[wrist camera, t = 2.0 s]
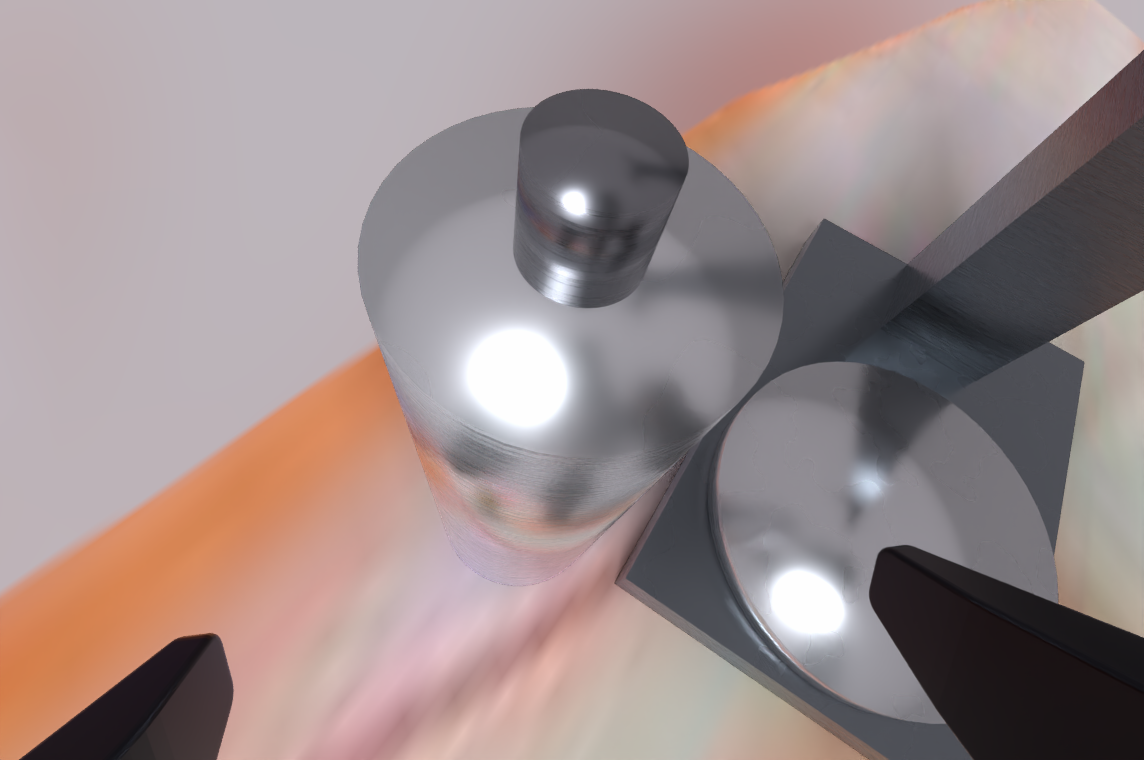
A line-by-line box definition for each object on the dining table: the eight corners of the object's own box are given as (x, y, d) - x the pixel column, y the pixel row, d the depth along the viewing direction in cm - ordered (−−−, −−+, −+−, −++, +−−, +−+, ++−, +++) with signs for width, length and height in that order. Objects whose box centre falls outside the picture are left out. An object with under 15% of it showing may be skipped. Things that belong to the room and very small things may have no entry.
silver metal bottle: (610, 567, 17) (959, 345, 5) (453, 602, 16) (327, 439, 3) (576, 425, 19) (751, -7, 7) (435, 447, 18) (314, -20, 5)
